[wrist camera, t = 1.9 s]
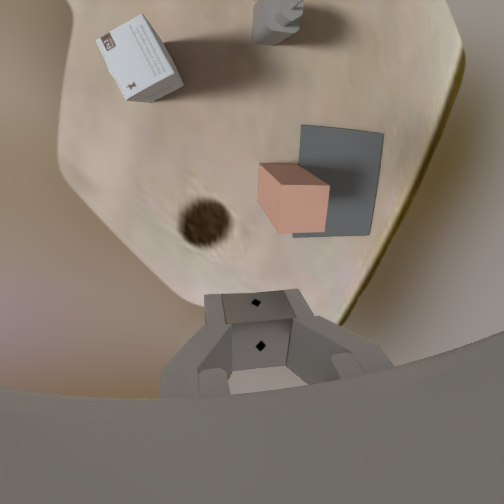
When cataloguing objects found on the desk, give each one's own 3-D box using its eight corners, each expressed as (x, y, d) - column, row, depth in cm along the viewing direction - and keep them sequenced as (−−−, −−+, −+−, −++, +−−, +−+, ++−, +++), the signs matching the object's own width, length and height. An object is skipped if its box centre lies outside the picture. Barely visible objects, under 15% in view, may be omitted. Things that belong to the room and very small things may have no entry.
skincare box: (185, 85, 30) (181, 74, 20) (148, 104, 31) (126, 104, 20) (161, 39, 28) (147, 9, 17) (125, 59, 28) (93, 40, 17)
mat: (301, 124, 35) (302, 125, 34) (381, 133, 36) (383, 133, 36) (292, 236, 41) (293, 237, 40) (367, 234, 43) (368, 235, 42)
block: (258, 163, 36) (281, 184, 27) (296, 164, 37) (329, 185, 28) (257, 200, 38) (278, 233, 29) (293, 200, 39) (324, 232, 30)
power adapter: (251, 43, 29) (279, 16, 19) (254, 1, 27) (282, -39, 17) (279, 46, 30) (318, 23, 19) (281, 5, 28) (320, -32, 17)
